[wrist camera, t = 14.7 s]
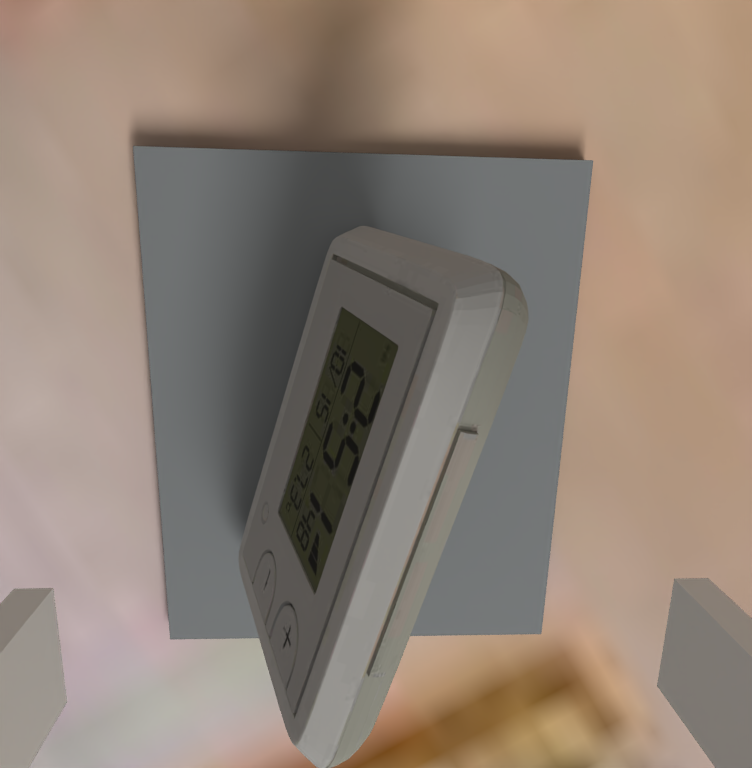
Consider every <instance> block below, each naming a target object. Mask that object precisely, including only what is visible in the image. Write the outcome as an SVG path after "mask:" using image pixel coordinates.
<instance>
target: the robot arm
mask: <svg viewBox="0 0 752 768" xmlns="http://www.w3.org/2000/svg"><path fill="white" fill-rule="evenodd" d="M657 686H658V688H659V689H660V690H661V692H662V693H663V695H664V696H665V698H666V699H667V700H668V702H669V703H670V705H671V706H672V707H673V709H674V710H675V712H676V713H677V714H678V716H679V717H680V719H681V720H682V721H683V723H684V724H685V726H686V727H687V728H688V730H689V731H690V733H691V734H692V735H693V737H694V738H695V740H696V741H697V742H698V744H699V745H700V747H701V748H702V749H703V751H704V752H705V754H706V755H707V757H708V758H709V759H710V761H711V762H712V764H713V765H714V766H715V768H752V618H751V617H750V616H749V615H747V614H746V613H745V612H744V611H743V610H742V609H741V608H740V607H739V606H738V605H737V604H736V603H734V602H733V601H732V600H731V599H730V598H729V597H728V596H727V595H726V594H725V593H724V592H723V591H721V590H720V589H719V588H718V587H717V586H716V585H715V584H714V583H713V582H712V581H711V580H709V579H708V578H686V579H674V584H673V590H672V597H671V603H670V609H669V615H668V621H667V628H666V634H665V640H664V646H663V652H662V659H661V665H660V671H659V677H658V683H657ZM66 703H67V698H66V690H65V681H64V673H63V665H62V657H61V649H60V640H59V632H58V624H57V616H56V607H55V599H54V591H53V588H36V589H14V590H13V591H12V592H11V593H10V594H9V595H8V596H7V597H6V598H5V599H4V600H3V601H2V603H1V604H0V768H29V767H30V765H31V763H32V761H33V760H34V758H35V756H36V755H37V753H38V751H39V749H40V748H41V746H42V744H43V743H44V741H45V739H46V737H47V736H48V734H49V732H50V731H51V729H52V727H53V725H54V724H55V722H56V720H57V718H58V717H59V715H60V713H61V712H62V710H63V708H64V706H65V705H66Z"/></svg>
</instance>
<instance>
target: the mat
mask: <svg viewBox="0 0 752 768" xmlns="http://www.w3.org/2000/svg"><path fill="white" fill-rule="evenodd" d="M133 152H134V165H135V179H136V192H137V205H138V218H139V232H140V245H141V258H142V271H143V285H144V298H145V311H146V325H147V338H148V351H149V364H150V378H151V391H152V404H153V417H154V431H155V444H156V457H157V470H158V484H159V497H160V510H161V524H162V537H163V550H164V563H165V577H166V590H167V603H168V616H169V630H170V639H227V638H259V636H258V632H257V629H256V626H255V622H254V619H253V615H252V612H251V608H250V605H249V602H248V598H247V595H246V591H245V588H244V585H243V581H242V578H241V574H240V569H239V560H238V557H239V549H240V545H241V541H242V537H243V534H244V530H245V527H246V523H247V520H248V516H249V513H250V509H251V506H252V502H253V499H254V496H255V492H256V489H257V486H258V482H259V479H260V476H261V472H262V469H263V465H264V462H265V459H266V455H267V452H268V449H269V445H270V442H271V438H272V435H273V432H274V428H275V425H276V422H277V418H278V415H279V411H280V408H281V405H282V401H283V398H284V395H285V391H286V388H287V385H288V381H289V378H290V374H291V371H292V368H293V364H294V361H295V358H296V354H297V351H298V347H299V344H300V341H301V337H302V334H303V331H304V327H305V324H306V321H307V317H308V314H309V310H310V307H311V304H312V300H313V297H314V294H315V290H316V287H317V284H318V281H319V277H320V274H321V271H322V268H323V265H324V261H325V258H326V255H327V252H328V250H329V247H330V245H331V243H332V241H333V240H334V239H335V238H336V237H338V236H340V235H342V234H344V233H345V232H348V231H350V230H352V229H355V228H357V227H359V226H369V227H372V228H376V229H379V230H383V231H386V232H389V233H393V234H396V235H400V236H403V237H406V238H410V239H413V240H417V241H420V242H423V243H427V244H430V245H434V246H437V247H440V248H444V249H447V250H451V251H454V252H457V253H461V254H464V255H468V256H471V257H473V258H476V259H479V260H482V261H484V262H487V263H489V264H492V265H494V266H495V267H497V268H499V269H501V270H503V271H505V272H507V273H508V274H509V275H510V276H511V277H512V278H513V279H514V280H515V281H516V282H517V283H518V284H519V285H520V287H521V289H522V292H523V294H524V297H525V299H526V301H527V306H528V319H529V320H528V325H527V329H526V333H525V336H524V339H523V342H522V345H521V348H520V351H519V353H518V356H517V359H516V362H515V364H514V367H513V370H512V372H511V375H510V378H509V381H508V383H507V386H506V389H505V391H504V394H503V397H502V399H501V402H500V405H499V407H498V410H497V412H496V415H495V418H494V420H493V423H492V426H491V428H490V431H489V433H488V436H487V439H486V441H485V444H484V446H483V449H482V451H481V454H480V457H479V459H478V462H477V464H476V467H475V469H474V472H473V475H472V477H471V480H470V482H469V485H468V488H467V490H466V493H465V495H464V498H463V500H462V503H461V506H460V508H459V511H458V513H457V516H456V518H455V521H454V524H453V526H452V529H451V531H450V534H449V536H448V539H447V542H446V544H445V547H444V549H443V552H442V555H441V557H440V560H439V562H438V565H437V567H436V570H435V573H434V575H433V578H432V580H431V583H430V585H429V588H428V591H427V593H426V596H425V598H424V601H423V603H422V606H421V609H420V611H419V614H418V616H417V619H416V622H415V624H414V627H413V629H412V632H411V634H410V636H437V635H506V634H541V632H542V622H543V613H544V604H545V595H546V586H547V577H548V568H549V559H550V550H551V540H552V531H553V522H554V513H555V504H556V495H557V486H558V477H559V468H560V458H561V449H562V440H563V431H564V422H565V413H566V404H567V395H568V386H569V376H570V367H571V358H572V349H573V340H574V331H575V322H576V313H577V303H578V294H579V285H580V276H581V267H582V258H583V249H584V240H585V231H586V221H587V212H588V203H589V194H590V185H591V176H592V167H593V161H592V160H560V159H529V158H497V157H465V156H433V155H402V154H370V153H338V152H306V151H274V150H243V149H211V148H179V147H147V146H133Z"/></svg>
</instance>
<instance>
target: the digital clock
mask: <svg viewBox="0 0 752 768" xmlns="http://www.w3.org/2000/svg"><path fill="white" fill-rule="evenodd" d="M528 320H529V319H528V306H527V301H526V299H525V297H524V294H523V292H522V289H521V287H520V285H519V284H518V283H517V282H516V281H515V280H514V279H513V278H512V277H511V276H510V275H509V274H508V273H507V272H505V271H503V270H501V269H499V268H497V267H495V266H494V265H492V264H489V263H487V262H484V261H482V260H479V259H476V258H473V257H471V256H468V255H464V254H461V253H457V252H454V251H451V250H447V249H444V248H440V247H437V246H434V245H430V244H427V243H423V242H420V241H417V240H413V239H410V238H406V237H403V236H400V235H396V234H393V233H389V232H386V231H383V230H379V229H376V228H372V227H369V226H359V227H357V228H355V229H352V230H350V231H348V232H345V233H344V234H342V235H340V236H338V237H336V238H335V239H334V240H333V241H332V243H331V245H330V247H329V250H328V252H327V255H326V258H325V261H324V265H323V268H322V271H321V274H320V277H319V281H318V284H317V287H316V290H315V294H314V297H313V300H312V304H311V307H310V310H309V314H308V317H307V321H306V324H305V327H304V331H303V334H302V337H301V341H300V344H299V347H298V351H297V354H296V358H295V361H294V364H293V368H292V371H291V374H290V378H289V381H288V385H287V388H286V391H285V395H284V398H283V401H282V405H281V408H280V411H279V415H278V418H277V422H276V425H275V428H274V432H273V435H272V438H271V442H270V445H269V449H268V452H267V455H266V459H265V462H264V465H263V469H262V472H261V476H260V479H259V482H258V486H257V489H256V492H255V496H254V499H253V502H252V506H251V509H250V513H249V516H248V520H247V523H246V527H245V530H244V534H243V537H242V541H241V545H240V549H239V557H238V560H239V569H240V574H241V578H242V581H243V585H244V588H245V591H246V595H247V598H248V602H249V605H250V608H251V612H252V615H253V619H254V622H255V626H256V629H257V632H258V636H259V639H260V643H261V646H262V649H263V653H264V656H265V660H266V663H267V666H268V670H269V673H270V677H271V680H272V684H273V687H274V690H275V694H276V697H277V701H278V704H279V707H280V711H281V714H282V717H283V720H284V723H285V727H286V729H287V732H288V735H289V737H290V739H291V741H292V743H293V744H294V745H295V746H296V747H297V748H298V749H299V751H300V752H301V753H302V754H303V755H304V756H305V757H306V758H308V759H309V760H310V761H311V762H312V763H313V764H314V765H315V766H316V767H318V768H331V767H334V766H336V765H338V764H340V763H342V762H344V761H345V760H347V759H349V758H350V757H351V756H352V755H353V754H354V753H355V752H356V751H357V750H358V749H359V748H360V746H361V745H362V744H363V742H364V741H365V740H366V738H367V737H368V736H369V734H370V733H371V731H372V729H373V726H374V724H375V722H376V720H377V717H378V715H379V712H380V710H381V707H382V705H383V702H384V700H385V698H386V695H387V693H388V690H389V688H390V685H391V683H392V680H393V678H394V675H395V673H396V670H397V668H398V665H399V663H400V660H401V658H402V655H403V652H404V650H405V647H406V645H407V642H408V640H409V637H410V634H411V632H412V629H413V627H414V624H415V622H416V619H417V616H418V614H419V611H420V609H421V606H422V603H423V601H424V598H425V596H426V593H427V591H428V588H429V585H430V583H431V580H432V578H433V575H434V573H435V570H436V567H437V565H438V562H439V560H440V557H441V555H442V552H443V549H444V547H445V544H446V542H447V539H448V536H449V534H450V531H451V529H452V526H453V524H454V521H455V518H456V516H457V513H458V511H459V508H460V506H461V503H462V500H463V498H464V495H465V493H466V490H467V488H468V485H469V482H470V480H471V477H472V475H473V472H474V469H475V467H476V464H477V462H478V459H479V457H480V454H481V451H482V449H483V446H484V444H485V441H486V439H487V436H488V433H489V431H490V428H491V426H492V423H493V420H494V418H495V415H496V412H497V410H498V407H499V405H500V402H501V399H502V397H503V394H504V391H505V389H506V386H507V383H508V381H509V378H510V375H511V372H512V370H513V367H514V364H515V362H516V359H517V356H518V353H519V351H520V348H521V345H522V342H523V339H524V336H525V333H526V329H527V325H528Z"/></svg>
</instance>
